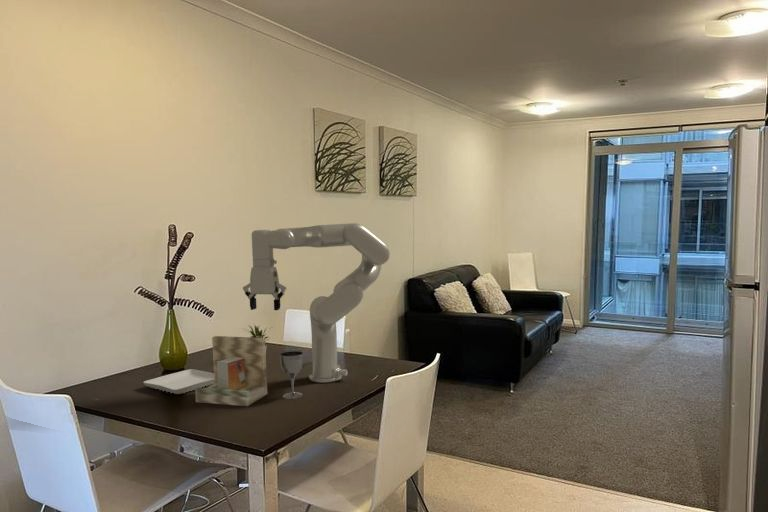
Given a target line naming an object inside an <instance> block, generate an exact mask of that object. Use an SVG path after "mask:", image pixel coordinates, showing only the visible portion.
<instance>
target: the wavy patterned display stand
mask: <svg viewBox="0 0 768 512" xmlns="http://www.w3.org/2000/svg"><path fill="white" fill-rule="evenodd" d="M211 340H212V341H211V342H212V361H213V363H212V364H213V374H214V384H212V385H209V386H206V387H203V388H201V387H197V388H195V390H194V392H195V393H194V394H195V403H200V404H201V403H203V404H214V405H215V404H216V405H228V406H239V407H249V406H250V405H252V404H254V403H256V401H259V400H260V399H262V398H264V397H265V396H266V395H268V381H267V380H268V379H267V378H268V377H267V358H266V357H267V355H266V354H267V351H266V352H265V344H266V342H265V341H266V339H265V338H264V337H263V338H253V337H251V336H249V337H248V336H246V337H245V336H227V335H226V336H225V335H224V336H222V335H214V336H212V337H211ZM232 357H240V358H245V376H246V388H243V389H239V390H229V389H218V377H217V361H221V360H225V359H228V358H232Z"/></svg>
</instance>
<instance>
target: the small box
mask: <svg viewBox="0 0 768 512" xmlns="http://www.w3.org/2000/svg"><path fill="white" fill-rule="evenodd" d="M217 377H218V389H229V390H239V389H243V388H246V376H245V358H240V357H232V358H228V359H225V360H221V361H217Z"/></svg>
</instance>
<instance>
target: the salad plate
mask: <svg viewBox="0 0 768 512" xmlns="http://www.w3.org/2000/svg"><path fill="white" fill-rule="evenodd" d="M142 383H143V384H144V385H145V386H146V387H149V388H152V389H156V390H157V389H159V390H158V391H161V390H162V391H161V392H164V391H166V392H165V393H168V392H170V393H169V394H172V393H174V394H173V395H183V394H186V392H187V393H190V392H193V390H194V391H195V388H197V387H201V388H202V387H203V388H206V387H209V386H211V385H213V384H214V372H213V373H212V372H209V371H204V370H199V369H194V368H193V369H192V368H191V369H190V368H189V369H184V370H181V371H178V372H173V373H169V374H164V375H161V376H158V377H155V378H151V379H146V380H145V381H143V382H142ZM205 386H206V387H205ZM189 391H190V392H189ZM182 393H183V394H182Z"/></svg>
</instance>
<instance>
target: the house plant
mask: <svg viewBox="0 0 768 512" xmlns="http://www.w3.org/2000/svg"><path fill="white" fill-rule="evenodd" d="M247 326H248V327H249V328H250V330H249V329H247V332H248V333H247V334H249V335H250V337H253V338H265V352H266V353H267V348H268V347H267V344H266V342H267V341H268V339H269V336H267V334H266V332H267V331H266V330H267V328H265V329H264V331H263V329H261V330H260V325H256V324H254V329H253V327H252V325H249V324H247ZM271 328H273V326H272V327H270V329H271ZM240 329H244V330H242V331H245V332H246V329H245V328H243V327H242V328H240Z"/></svg>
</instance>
